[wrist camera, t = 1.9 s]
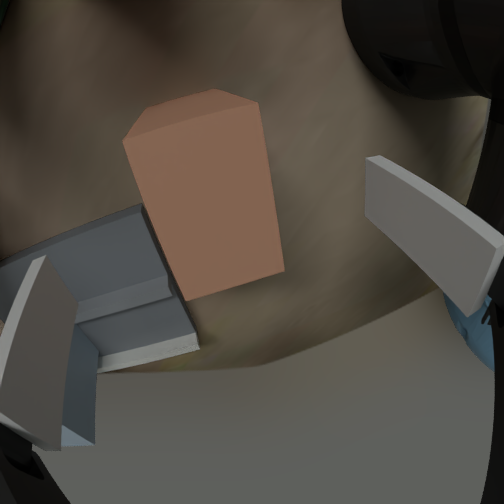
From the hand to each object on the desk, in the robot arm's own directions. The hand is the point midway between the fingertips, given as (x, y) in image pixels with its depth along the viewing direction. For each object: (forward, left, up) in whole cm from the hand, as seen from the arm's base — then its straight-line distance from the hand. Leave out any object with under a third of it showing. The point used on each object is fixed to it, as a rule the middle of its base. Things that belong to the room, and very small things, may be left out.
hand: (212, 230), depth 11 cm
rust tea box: (0, 0, -12) cm, 12 cm away
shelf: (+15, +11, -12) cm, 22 cm away
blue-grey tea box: (+20, +14, -11) cm, 26 cm away
